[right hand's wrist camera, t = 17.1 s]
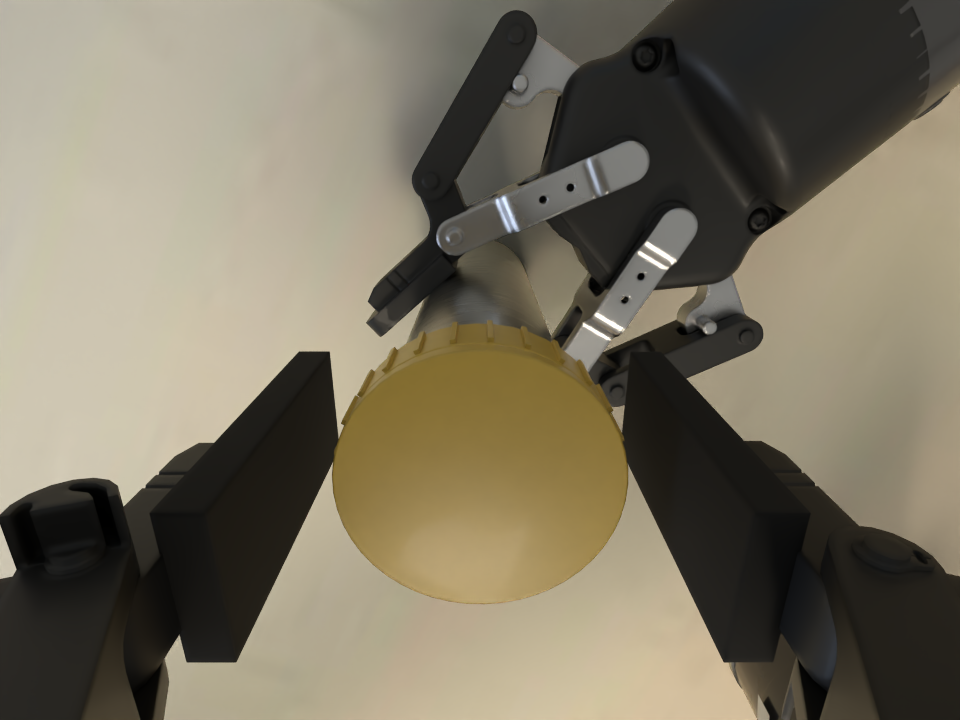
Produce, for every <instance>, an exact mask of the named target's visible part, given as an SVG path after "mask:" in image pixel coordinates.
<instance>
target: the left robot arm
mask: <svg viewBox="0 0 960 720" xmlns="http://www.w3.org/2000/svg"><path fill="white" fill-rule="evenodd" d="M958 84H960V0H674V1H673V2H672V3H671V4H670V5H669V6H668V7H667V8H666V9H665V10H663V11H662V12H661V13H660V14H659V15H658V16H657V17H656V18H655V19H654V20H653V21H652V22H651V23H650V24H648V25H647V26H646V27H645V28H644V29H643V30H642V31H641V32H640V33H639V34H638V35H637V36H636V37H635V38H633V39H632V40H631V41H630V42H629V43H628V44H627V45H626V46H625V47H624V48H622V49H621V50H620V51H619V52H617V53H615V54H613V55H611V56H608V57H605V58H601V59H596V60H592V61H590V62H587V63H585V64H583V65H582V66H579V65H577V64H576V63H575V62H573V61H572V60H571V59H569V58H568V57H567V56H565V55H564V54H563V53H561V52H560V51H559V50H557V49H556V48H555V47H553V46H552V45H551V44H549V43H548V42H547V41H545V40H544V39H543V38H541V37H540V36H539V35H537V28H536V25H535V22H534V20H533V19H532V18H531V17H530V15H528V14H527V13H525V12H523V11H519V10H514V11H510V12H508V13H506V14H505V15H504V16H503V17H502V18H501V19H500V20H499V22H498V24H497V25H496V27H495V29H494V31H493V33H492V34H491V36H490V38H489V40H488V41H487V43H486V45H485V47H484V48H483V50H482V52H481V54H480V55H479V57H478V59H477V61H476V62H475V64H474V66H473V68H472V69H471V71H470V73H469V75H468V77H467V78H466V80H465V82H464V84H463V85H462V87H461V89H460V91H459V92H458V94H457V96H456V98H455V99H454V101H453V103H452V105H451V106H450V108H449V110H448V112H447V113H446V115H445V117H444V119H443V121H442V122H441V124H440V126H439V128H438V129H437V131H436V133H435V135H434V136H433V138H432V140H431V142H430V143H429V145H428V147H427V149H426V150H425V152H424V154H423V156H422V157H421V159H420V161H419V163H418V165H417V166H416V168H415V170H414V172H413V175H412V184H413V188H414V190H415V191H416V193H417V194H418V195H419V196H420V197H421V199H422V202H423V204H424V207H425V209H426V211H427V214H428V217H429V220H430V231H429V234H428V236H427V237H426V238H425V239H424V240H423V241H422V242H421V243H419V244H418V245H417V246H416V247H415V248H414V249H413V250H412V251H411V252H410V253H409V254H408V255H407V256H405V257H404V258H403V259H402V260H401V261H400V262H399V263H398V264H397V265H396V266H395V267H394V268H393V269H392V270H390V271H389V272H388V273H387V274H386V275H385V276H384V277H383V278H382V279H381V280H380V281H379V282H378V283H377V285H376V286H375V287H374V289H373V291H372V293H371V296H370V298H369V300H368V302H369V303H370V304H371V305H372V306H373V307H374V308H375V309H376V310H375V311H374V312H373V314H372V315H371V317H370V318H369V319H368V321H367V322H366V323H367V324H368V325H369V326H370V327H371V328H372V329H373V330H374V331H375V332H376V333H377V334H378V335H379V336H380V337H381V336H383V335H384V334H385V333H387V332H388V331H389V330H390V329H391V328H392V327H393V326H394V325H396V324H397V323H398V322H399V321H400V320H401V319H402V318H403V317H404V316H406V315H407V314H408V313H409V312H410V311H411V310H412V309H413V308H415V307H416V306H417V305H418V304H419V303H420V302H421V301H422V300H423V299H425V298H426V297H427V296H428V295H429V294H430V293H431V292H432V291H433V290H434V289H435V288H436V287H438V286H439V285H440V284H441V283H442V282H444V281H445V280H446V279H447V278H448V277H449V276H450V275H451V274H453V273H454V272H455V271H456V269H457V264H458V259H459V258H460V257H461V256H463V255H464V254H465V253H466V252H468V251H471V250H473V249H475V248H478V247H480V246H482V245H484V244H487V243H489V242H491V241H494V240H496V239H498V238H500V237H503V236H505V235H508V234H510V233H515V232H519V231H522V230H524V229H527V228H529V227H531V226H533V225H536V224H538V223H540V222H543V221H545V220H546V221H547V222H548V224H549V225H550V226H551V227H552V228H553V229H554V230H555V231H556V232H557V233H558V234H559V235H560V236H561V237H562V238H564V239H565V240H567V241H568V242H570V243H571V244H572V246H573V248H574V250H575V252H576V255H577V257H578V259H579V261H580V262H581V264H582V265H583V266H584V267H585V269H586V270H587V271H588V272H589V273H588V275H587V276H586V278H585V279H584V281H583V282H582V284H581V285H580V287H579V288H578V290H577V292H576V294H575V296H574V301H573V303H572V305H571V307H570V308H569V310H568V311H567V313H566V315H565V316H564V318H563V319H562V321H561V322H560V324H559V325H558V327H557V328H556V330H555V331H554V333H553V334H552V336H551V338H552V340H553V339H554V340H556V341H557V342H558V344H559V346H560V348H561V349H562V350H564V351H565V352H566V353H567V354H569V355H570V356H571V357H572V358H574V359H575V360H576V361H578V360H579V359H580V360H581V361H582V362H583V363H584V365H585V367H586V369H587V371H588V373H589V375H590V377H591V379H592V381H593V382H594V384H595V385H597V384H600V386H601V388H602V390H603V392H604V394H605V395H606V397H607V399H608V401H609V403H610V405H611V406H612V407H619V406H622V405H625V400H626V390H627V380H628V370H629V360H630V352H662V353H663V354H664V356H665V357H666V358H667V359H668V360H669V361H670V362H671V363H672V364H673V365H674V366H675V367H676V368H677V370H678V371H679V372H680V373H681V374H682V375H683V376H684V377H685V378H689V377H691V376H693V375H696V374H698V373H700V372H703V371H705V370H707V369H710V368H712V367H714V366H717V365H719V364H722V363H724V362H726V361H729V360H731V359H733V358H736V357H738V356H740V355H743V354H745V353H747V352H750V351H752V350H754V349H755V348H756V347H757V346H758V345H759V344H760V343H761V341H762V339H763V329H762V327H761V325H760V324H759V323H758V322H756V321H755V320H753V319H751V318H749V317H748V316H746V315H745V313H744V310H743V307H742V304H741V301H740V298H739V295H738V292H737V289H736V286H735V283H734V280H733V277H732V274H733V273H734V272H735V271H736V270H737V269H738V267H739V266H740V265H741V263H742V261H743V259H744V257H745V255H746V253H747V251H748V249H749V248H750V247H751V245H752V244H753V243H754V241H755V240H756V239H757V238H758V237H759V236H760V235H761V234H763V233H764V232H765V231H767V230H768V229H770V228H771V227H773V226H775V225H776V224H778V223H779V222H781V221H783V220H784V219H786V218H787V217H788V216H790V215H791V214H793V213H794V212H795V211H797V210H798V209H799V208H800V207H802V206H803V205H804V204H806V203H807V202H808V201H809V200H811V199H812V198H813V197H814V196H816V195H817V194H818V193H820V192H821V191H822V190H823V189H825V188H826V187H827V186H829V185H830V184H831V183H832V182H834V181H835V180H836V179H838V178H839V177H840V176H841V175H843V174H844V173H845V172H847V171H848V170H849V169H850V168H852V167H853V166H854V165H855V164H857V163H858V162H859V161H861V160H862V159H863V158H864V157H866V156H867V155H868V154H870V153H871V152H872V151H874V150H875V149H876V148H878V147H879V146H880V145H881V144H883V143H884V142H885V141H887V140H888V139H889V138H890V137H892V136H893V135H894V134H896V133H897V132H898V131H899V130H901V129H902V128H903V127H905V126H906V125H907V124H908V123H909V122H911V121H912V120H915V119H918V118H919V117H921V116H923V115H924V114H926V113H928V112H929V111H930V110H932V109H933V108H935V107H936V106H937V105H938V104H940V103H941V102H942V100H943V99H944V98H945V97H946V96H947V95H948V94H949V93H950V91H951V90H952V89H953V88H954V87H956V86H957V85H958ZM542 93H552V94H555V95H556V96H558V100H557V104H556V108H555V112H554V116H553V120H552V124H551V129H550V133H549V137H548V141H547V145H546V149H545V153H544V157H543V161H542V165H541V169H540V172H537V173H535V174H533V175H531V176H529V177H526V178H524V179H522V180H520V181H517V182H515V183H513V184H511V185H509V186H506V187H504V188H502V189H500V190H498V191H496V192H495V193H493V194H491V195H489V196H486V197H484V198H482V199H480V200H478V201H475V202H473V203H471V204H469V205H466V204H465V202H464V199H463V197H462V194H461V192H460V189H459V186H458V184H457V181H456V179H457V177H458V175H459V174H460V172H461V170H462V169H463V167H464V165H465V164H466V162H467V160H468V159H469V157H470V155H471V154H472V152H473V150H474V148H475V147H476V145H477V143H478V142H479V140H480V138H481V137H482V135H483V133H484V132H485V130H486V128H487V127H488V125H489V123H490V122H491V120H492V118H493V117H494V115H495V113H496V112H497V110H498V108H499V107H500V105H501V103H502V104H504V105H505V106H507V107H508V108H511V109H515V110H516V109H522V108H524V107H526V106H527V105H529V104H530V103H531V101H532V100H533V99H534V98H535V97H536V96H538V95H540V94H542ZM693 286H698V288H697V292H696V294H695V295H694V297H693V298H692V299H691V300H689V301H688V302H686V303H685V304H683V305H682V306H681V307H680V309H679V311H678V314H677V320H675V321H673V322H670V323H668V324H666V325H664V326H661V327H659V328H657V329H655V330H652V331H650V332H648V333H646V334H643V335H641V336H639V337H637V338H634V339H632V340H630V341H627V342H625V343H623V344H621V345H618V346H616V347H614V348H612V349H609V350H607V351H605V352H603V351H604V350H605V348H606V347H607V345H608V344H609V343H610V341H611V340H612V339H613V338H614V337H617V336H619V335H620V334H622V333H623V332H624V330H625V329H626V328H627V326H628V325H629V324H630V322H631V321H632V319H633V318H634V316H635V315H636V314H637V312H638V311H639V309H640V308H641V306H642V305H643V304H644V302H645V301H646V299H647V298H648V297H649V295H650V294H651V292H652V291H653V290H662V289H672V288H682V287H693ZM624 296H625V298H624V299H623V300H621V299H622V297H624ZM795 659H796V655H795V653H794V652H793V650H792V649H791V647H790V645H789V644H788V642H787V641H786V639H785V638H784V636H783V634H782V633H781V634H780V638H779V642H778V646H777V650H776V654H775V657H774V661H773V662H729V665H730V668H731V670H732V672H733V674H734V677H735V679H736V681H737V683H738V684H739V686H740V687H741V688H742V689H743V691H744V693H745V695H746V697H747V699H748V701H749V703H750V705H751V707H752V709H753V711H754V713H755V715H756V717H757V720H783V719H781V716H782V709H783V704H784V700H785V696H786V693H787V689H788V685H789V682H790V678H791V674H792V671H793V667H794V663H795ZM790 720H797V718H796V712H795V708H793V711H792V714H791V718H790Z"/></svg>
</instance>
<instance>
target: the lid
mask: <svg viewBox="0 0 960 720" xmlns="http://www.w3.org/2000/svg"><path fill="white" fill-rule="evenodd" d="M357 395H358V396H359V397H358V396H355V397H354V399H353V401H352V403H351V405H350V406H349V408H348V410H347V412H346V414H345V416H344V418H343V420H342V422H341V424H343V425H344V427H343V430H342V432H341V435H340V437H339V440H338V442H337V446H336V448H335V450H334V459H333V471H332V481H333V493H334V498H335V502H336V507H337V510H338V513H339V515H340V518H341V521H342V523H343V525H344V527H345V529H346V531H347V533H348V534H349V536H350V538H351V540H352V541H353V542H354V544H355V545H356V546H357V548H358V549H359V550H360V552H361V553H362V554H363V555H364V556H365V557H366V558H367V559H368V560H369V561H370V562H371V563H372V564H373V565H374V566H375V567H377V568H378V569H379V570H380V571H382V572H383V573H384V574H385V575H387V576H388V577H390V578H392V579H393V580H395V581H396V582H398V583H400V584H401V585H403V586H405V587H408V588H410V589H412V590H414V591H416V592H419V593H422V594H424V595H427V596H430V597H433V598H437V599H442V600H446V601H450V602H458V603H466V604H492V603H503V602H509V601H514V600H520V599H523V598H527V597H530V596H533V595H537V594H539V593H541V592H544V591H546V590H549V589H551V588H553V587H555V586H557V585H559V584H561V583H562V582H564V581H566V580H568V579H569V578H571V577H572V576H573V575H575V574H576V573H578V572H579V571H580V570H582V569H583V568H584V567H585V566H586V565H587V564H588V563H589V562H590V561H592V560H593V559H594V558H595V556H596V555H597V554H598V553H599V552H600V551H601V549H602V548H603V547H604V546H605V544H606V543H607V541H608V540H609V538H610V537H611V535H612V534H613V532H614V530H615V528H616V526H617V524H618V522H619V519H620V517H621V514H622V511H623V508H624V504H625V501H626V495H627V488H628V464H627V458H626V452H625V448H624V445H623V442H622V441H624V436H623V434H622V432H621V430H620V429H619V427H618V425H617V423H616V421H615V419H614V417H613V415H612V413H611V412H612V411H613V409H612V407H611V405H610V403H609V401H608V399H607V397H606V395H605V394H604V392H603V390H602V388H601V386H600V384H597V385H595V384H594V382H593V381H592V379H591V377H590V375H589V373H588V371H587V369H586V367H585V365H584V363H583V362H582V361H581V360H580V359H579V360H578V361H576V360H575V359H574V358H572V357H571V356H570V355H569V354H567V353H566V352H565V351H564V350H562V349H561V348H560V346H559V344H558V342H557V341H556V340H554V339H553V340H552V342H550V341H548V340H546V339H544V338H542V337H540V336H537V335H535V334H533V333H531V332H528V330H527V327H524V326H522V327H521V329H517V328H514V327H509V326H503V325H497V324H493V320H487V324H465V325H458V322H453V323H452V327H447V328H443V329H439V330H436V331H433V332H430V333H428V334H426V333H425V331H422V332H420V333H419V336H418V338H416V339H415V340H413V341H411V342H409V343H407V344H405V345H404V346H403V347H401V348H400V349H398V350H397V349H396V348H395V347H394V348H393V349H392V350H391V351H390V353H389V355H388V357H387V359H386V360H385V361H384V362H383V363H382V364H381V365H380V366H379V367H378V368H377V369H376V371H373V370H372V369H371V370H370V372H369V373H368V375H367V377H366V379H365V381H364V383H363V385H362V386H361V388H360V390H359V392H358V394H357Z"/></svg>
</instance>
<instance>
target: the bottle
mask: <svg viewBox="0 0 960 720" xmlns="http://www.w3.org/2000/svg"><path fill="white" fill-rule="evenodd" d="M487 320H493V324H497V325H503V326H509V327H514V328H517V329H521V327H522V326H524V327H527V330H528V332H531V333H533V334H535V335H537V336H540V337H542V338H544V339H546V340H548V341H550V342H552V338H551V335H550V333H549V330H548V328H547V325H546V323H545V320H544V318H543V315H542V313H541V310H540V308H539V305H538V303H537V300H536V297H535V295H534V292H533V290H532V287H531V285H530V282H529V280H528V277H527V275H526V272H525V270H524V267H523V265H522V263H521V261H520V260H519V258H518V257H517V256H516V254H515V253H514V252H513V251H512V250H510V249H509V248H508V247H506V246H505V245H503V244H501V243H499V242H497V241H491V242H489V243H487V244H484V245H482V246H480V247H478V248H475V249H473V250H471V251H468V252H466V253H465V254H464V255H463V256H461V257H460V258H459V259H458V264H457V269H456V271H455V272H454V273H453V274H451V275H450V276H449V277H448V278H447V279H446V280H445V281H444V282H442V283H441V284H440V285H439V286H438V287H436V288H435V289H434V290H433V291H432V292H431V293H430V294H429V295H428V296H427V297H426V298H425V299H424V301H423V303H422V306H421V308H420V311H419V313H418V316H417V318H416V321H415V324H414V326H413V329H412V331H411V334H410V336H409V339H408V341H407V343H409V342H411V341H413V340H415V339H416V338H418V336H419V333H420V332H422V331H425V333H426V334H428V333H430V332H433V331H436V330H439V329H443V328H447V327H452V323H453V322H458V325H465V324H487Z"/></svg>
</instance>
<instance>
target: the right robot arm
mask: <svg viewBox="0 0 960 720" xmlns="http://www.w3.org/2000/svg"><path fill="white" fill-rule="evenodd" d="M622 434H623V436H624V441H622V442H623V445H624V448H625V452H626V458H627V463H628V465H629V467H630V469H631V471H632V473H633V475H634V477H635V479H636V481H637V483H638V485H639V488H640V490H641V492H642V494H643V496H644V498H645V500H646V502H647V504H648V506H649V508H650V510H651V512H652V515H653V517H654V519H655V521H656V523H657V525H658V527H659V529H660V531H661V533H662V535H663V537H664V539H665V541H666V544H667V546H668V548H669V550H670V552H671V554H672V556H673V558H674V560H675V562H676V564H677V566H678V568H679V570H680V573H681V575H682V577H683V579H684V581H685V583H686V585H687V587H688V589H689V591H690V593H691V595H692V597H693V599H694V602H695V604H696V606H697V608H698V610H699V612H700V614H701V616H702V618H703V620H704V622H705V624H706V626H707V629H708V631H709V633H710V635H711V637H712V639H713V641H714V643H715V645H716V647H717V649H718V651H719V653H720V655H721V658H722V660H723V662H773V661H774V657H775V654H776V650H777V646H778V642H779V638H780V634H781V633H782V634H783V636H784V638H785V639H786V641H787V642H788V644H789V645H790V647H791V649H792V650H793V652H794V653H795V655H796V659H795V663H794V667H793V671H792V674H791V678H790V682H789V685H788V689H787V693H786V696H785V700H784V704H783V709H782V716H781V719H783V720H790V718H791V714H792V711H793V708H795V712H796V718H797V720H960V576H955V575H950V574H946V572H945V571H944V569H943V568H942V567H941V565H940V564H939V563H938V562H937V561H936V560H935V558H934V557H933V556H932V555H930V554H929V553H928V552H926V551H925V550H923V549H922V548H920V547H919V546H917V545H916V544H915V543H912V542H910V541H908V540H906V539H904V538H902V537H900V536H897V535H895V534H893V533H889V532H886V531H882V530H879V529H876V528H872V527H863V526H858V525H857V524H856V523H855V522H854V521H853V520H852V519H851V518H850V517H849V516H848V515H847V514H846V513H845V512H844V511H843V510H842V509H841V508H840V507H839V506H838V505H837V504H836V503H835V502H834V501H833V500H832V499H831V498H830V497H829V496H828V495H827V494H826V493H824V492H823V491H822V490H821V489H820V488H819V487H818V486H815V483H814V482H813V481H812V480H811V479H810V478H809V477H808V476H807V475H806V474H805V473H802V472H801V469H800V468H799V467H798V466H797V465H796V464H795V463H794V462H793V461H792V460H791V459H790V458H789V457H788V456H786V455H785V454H784V453H782V452H780V451H778V450H776V449H775V448H773V447H771V446H769V445H767V444H766V443H764V442H762V441H743V439H742V438H741V437H740V436H739V435H738V434H737V433H736V432H735V431H734V430H733V429H732V428H731V427H730V425H729V424H728V423H727V422H726V421H725V420H724V419H723V418H722V417H721V416H720V415H719V414H718V413H717V411H716V410H715V409H714V408H713V407H712V406H711V405H710V404H709V403H708V402H707V401H706V400H705V399H704V397H703V396H702V395H701V394H700V393H699V392H698V391H697V390H696V389H695V388H694V387H693V386H692V385H691V383H690V382H689V381H688V380H687V379H686V378H685V377H684V376H683V375H682V374H681V373H680V372H679V371H678V370H677V368H676V367H675V366H674V365H673V364H672V363H671V362H670V361H669V360H668V359H667V358H666V357H665V356H664V354H663V353H662V352H630V360H629V370H628V380H627V390H626V400H625V409H624V419H623V429H622ZM338 440H339V439H338V429H337V419H336V409H335V400H334V390H333V380H332V370H331V360H330V352H298V353H297V354H296V356H295V357H294V358H293V359H292V360H291V361H290V362H289V363H288V364H287V365H286V366H285V367H284V368H283V370H282V371H281V372H280V373H279V374H278V375H277V376H276V377H275V378H274V379H273V380H272V381H271V382H270V384H269V385H268V386H267V387H266V388H265V389H264V390H263V391H262V392H261V393H260V394H259V395H258V396H257V397H256V399H255V400H254V401H253V402H252V403H251V404H250V405H249V406H248V407H247V408H246V409H245V410H244V411H243V413H242V414H241V415H240V416H239V417H238V418H237V419H236V420H235V421H234V422H233V423H232V424H231V425H230V427H229V428H228V429H227V430H226V431H225V432H224V433H223V434H222V435H221V436H220V437H219V438H218V439H217V441H216V442H215V443H198V444H196V445H195V446H193V447H191V448H189V449H187V450H186V451H184V452H182V453H180V454H178V455H177V456H175V457H174V458H173V459H172V460H171V461H170V462H169V463H168V464H167V465H166V466H165V467H164V468H163V469H162V470H161V471H160V472H159V475H156V476H154V477H153V478H152V479H151V480H150V481H149V482H148V483H147V484H146V488H142V489H141V490H140V491H139V492H138V493H137V494H136V495H135V496H134V497H133V498H132V499H131V500H130V501H129V502H128V503H127V504H126V505H125V506H124V507H123V504H122V500H121V496H120V492H119V489H118V486H117V485H116V484H114V483H113V482H111V481H110V480H106V479H98V478H87V479H76V480H71V481H67V482H63V483H59V484H55V485H51V486H48V487H46V488H43V489H41V490H38V491H36V492H33V493H31V494H28V495H27V496H25V497H23V498H21V499H20V500H18V501H16V502H15V503H13V504H11V505H10V506H9V507H8V508H7V509H6V510H5V511H3V512H2V513H1V514H0V525H1V528H2V531H3V533H4V536H5V539H6V542H7V544H8V547H9V550H10V553H11V555H12V558H13V561H14V563H15V566H16V569H17V570H16V572H15V574H14V575H13V577H8V578H3V579H0V720H164V713H165V706H166V699H167V692H168V686H169V678H168V671H167V667H166V663H165V659H164V658H165V656H166V655H167V653H168V652H169V650H170V648H171V647H172V645H173V644H174V642H175V640H176V639H177V637H178V636H179V634H180V638H181V642H182V646H183V650H184V654H185V657H186V661H187V662H237V660H238V658H239V655H240V653H241V651H242V649H243V647H244V645H245V643H246V641H247V639H248V637H249V635H250V633H251V631H252V629H253V626H254V624H255V622H256V620H257V618H258V616H259V614H260V612H261V610H262V608H263V606H264V604H265V602H266V600H267V597H268V595H269V593H270V591H271V589H272V587H273V585H274V583H275V581H276V579H277V577H278V575H279V573H280V570H281V568H282V566H283V564H284V562H285V560H286V558H287V556H288V554H289V552H290V550H291V548H292V546H293V544H294V541H295V539H296V537H297V535H298V533H299V531H300V529H301V527H302V525H303V523H304V521H305V519H306V517H307V515H308V512H309V510H310V508H311V506H312V504H313V502H314V500H315V498H316V496H317V494H318V492H319V490H320V488H321V485H322V483H323V481H324V479H325V477H326V475H327V473H328V471H329V469H330V467H331V465H332V463H333V459H334V450H335V448H336V446H337V442H338Z"/></svg>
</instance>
